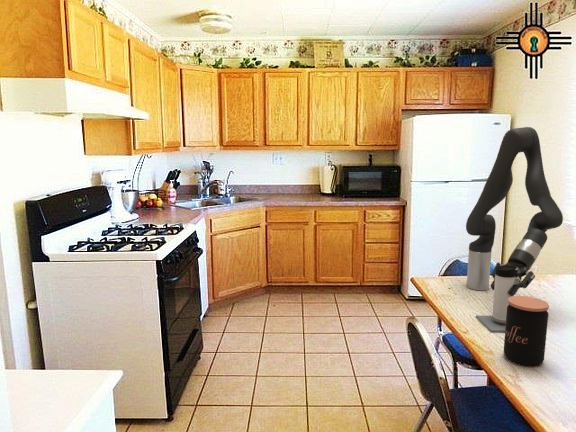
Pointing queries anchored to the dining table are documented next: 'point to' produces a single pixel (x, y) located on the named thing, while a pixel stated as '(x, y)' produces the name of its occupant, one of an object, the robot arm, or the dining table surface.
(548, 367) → the dining table surface
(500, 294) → the travel mug
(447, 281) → the dining table surface
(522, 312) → the coffee jar
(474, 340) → the dining table surface
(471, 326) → the dining table surface
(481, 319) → the slate mat
